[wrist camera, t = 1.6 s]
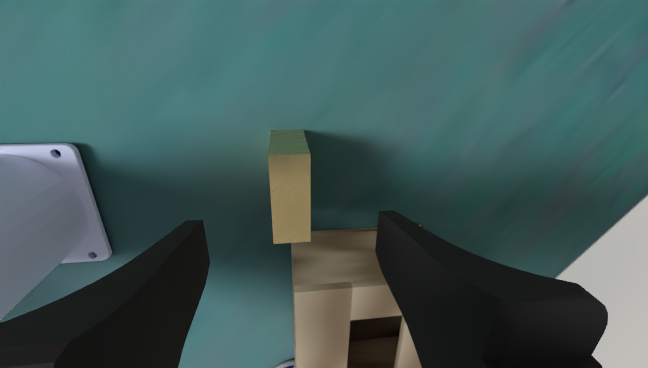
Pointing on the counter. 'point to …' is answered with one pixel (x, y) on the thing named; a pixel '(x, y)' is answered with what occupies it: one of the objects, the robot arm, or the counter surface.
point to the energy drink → (287, 364)
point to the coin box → (346, 305)
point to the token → (290, 186)
